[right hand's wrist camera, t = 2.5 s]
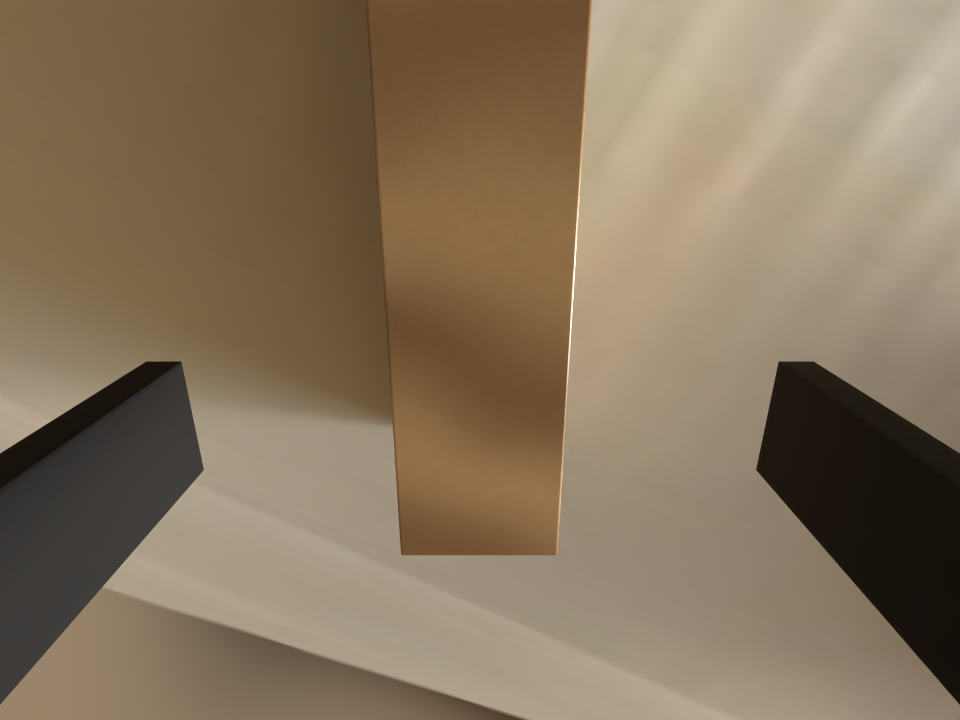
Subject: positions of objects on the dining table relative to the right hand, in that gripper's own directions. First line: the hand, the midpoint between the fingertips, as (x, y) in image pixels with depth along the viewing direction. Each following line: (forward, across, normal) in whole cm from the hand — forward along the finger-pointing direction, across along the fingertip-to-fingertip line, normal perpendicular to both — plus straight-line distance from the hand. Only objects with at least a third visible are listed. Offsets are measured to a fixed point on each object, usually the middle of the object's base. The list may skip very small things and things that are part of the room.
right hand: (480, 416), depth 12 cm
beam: (+12, 0, -23) cm, 26 cm away
